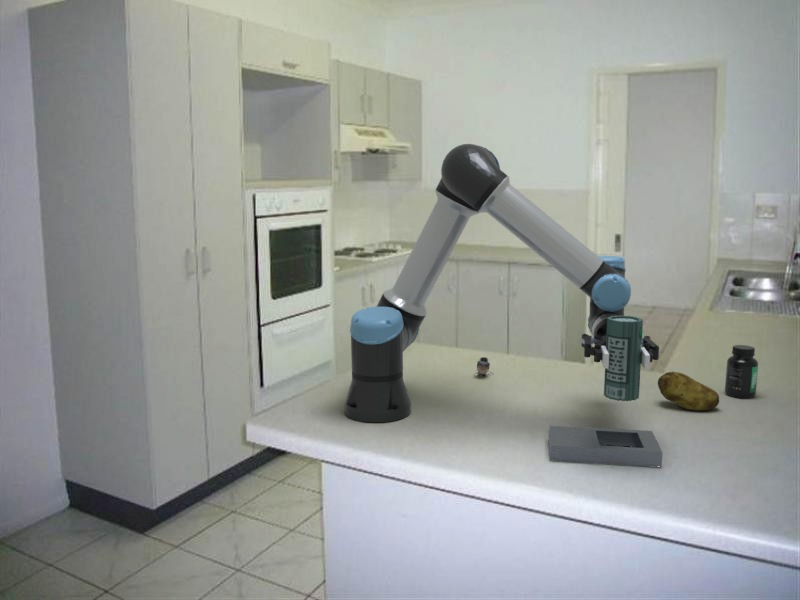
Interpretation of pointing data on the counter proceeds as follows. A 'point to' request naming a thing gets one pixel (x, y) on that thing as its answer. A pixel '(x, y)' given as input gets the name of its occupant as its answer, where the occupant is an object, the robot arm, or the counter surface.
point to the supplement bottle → (741, 373)
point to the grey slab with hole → (587, 449)
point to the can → (623, 357)
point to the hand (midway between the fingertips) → (626, 361)
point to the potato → (687, 392)
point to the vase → (483, 367)
